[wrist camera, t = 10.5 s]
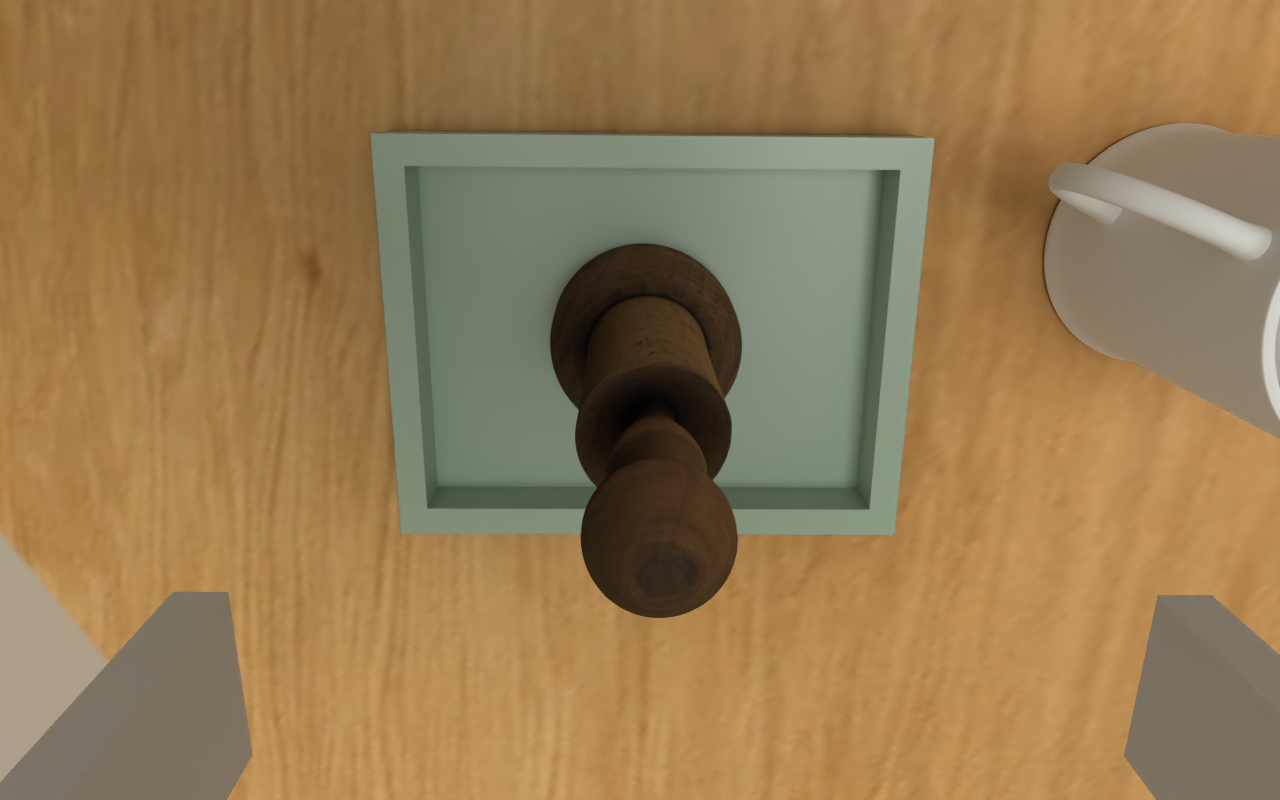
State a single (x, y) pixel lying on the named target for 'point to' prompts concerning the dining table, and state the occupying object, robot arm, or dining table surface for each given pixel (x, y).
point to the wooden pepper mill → (651, 423)
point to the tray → (669, 216)
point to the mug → (1176, 261)
